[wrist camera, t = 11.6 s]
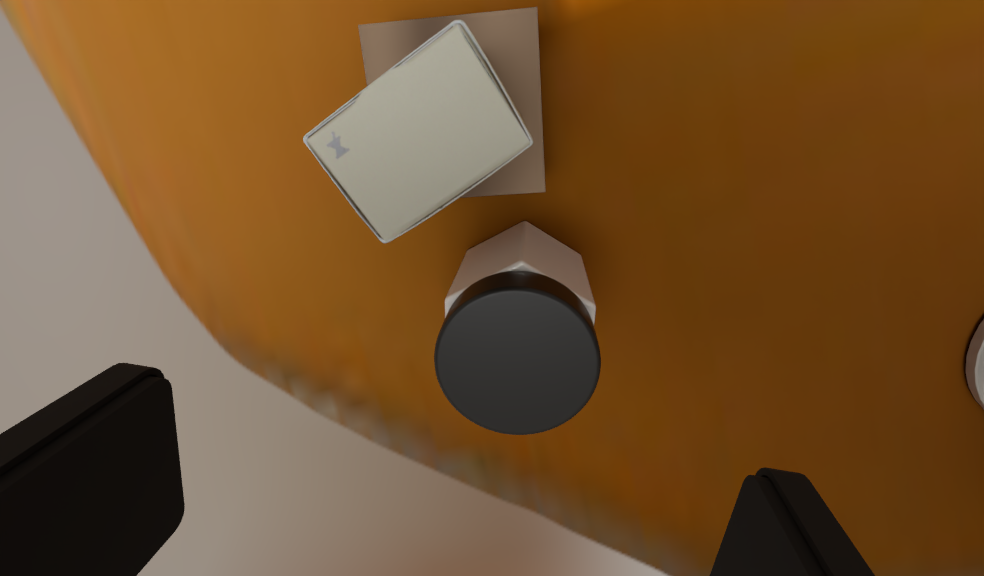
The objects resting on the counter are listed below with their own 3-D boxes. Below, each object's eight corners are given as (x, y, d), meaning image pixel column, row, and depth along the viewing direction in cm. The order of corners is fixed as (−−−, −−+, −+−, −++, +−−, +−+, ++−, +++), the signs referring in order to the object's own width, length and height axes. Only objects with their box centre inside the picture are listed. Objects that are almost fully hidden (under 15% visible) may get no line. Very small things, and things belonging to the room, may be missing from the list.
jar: (438, 296, 37) (396, 383, 26) (497, 200, 35) (479, 250, 23) (544, 358, 38) (547, 467, 27) (609, 269, 36) (643, 349, 24)
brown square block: (536, 23, 31) (537, 7, 25) (543, 176, 34) (545, 191, 28) (389, 37, 32) (358, 25, 26) (408, 185, 35) (384, 202, 29)
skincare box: (431, 185, 29) (376, 255, 17) (383, 116, 28) (289, 143, 16) (531, 118, 27) (541, 146, 16) (484, 41, 26) (459, 12, 15)
